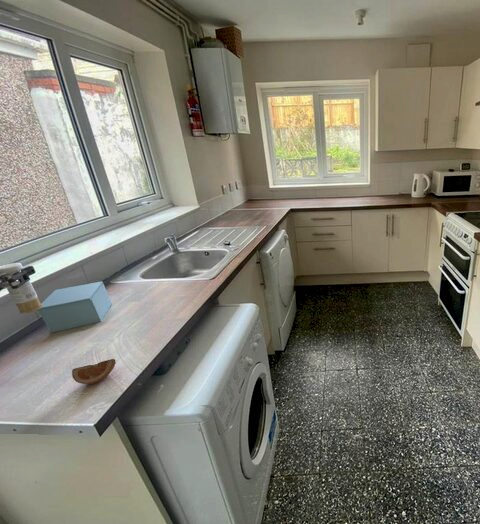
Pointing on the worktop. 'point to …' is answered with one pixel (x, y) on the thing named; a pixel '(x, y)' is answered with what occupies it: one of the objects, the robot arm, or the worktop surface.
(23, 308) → the sprinkles bottle
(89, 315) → the chest
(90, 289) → the lid
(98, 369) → the fruit slice
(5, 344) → the worktop surface
